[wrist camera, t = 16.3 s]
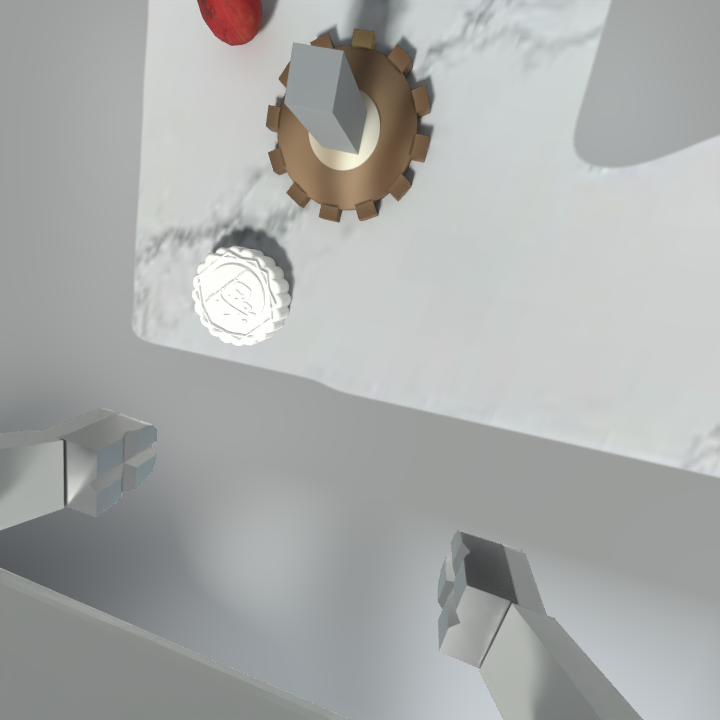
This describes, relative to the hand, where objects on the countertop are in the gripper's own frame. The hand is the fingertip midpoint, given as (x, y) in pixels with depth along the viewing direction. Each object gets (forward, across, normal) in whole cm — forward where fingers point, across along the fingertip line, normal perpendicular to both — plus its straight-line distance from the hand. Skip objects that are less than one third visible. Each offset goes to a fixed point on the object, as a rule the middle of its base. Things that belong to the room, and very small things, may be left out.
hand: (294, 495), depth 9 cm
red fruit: (+34, +24, -26) cm, 49 cm away
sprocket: (+34, +11, -18) cm, 40 cm away
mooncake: (+34, +20, +2) cm, 40 cm away
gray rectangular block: (+32, +11, -18) cm, 38 cm away
